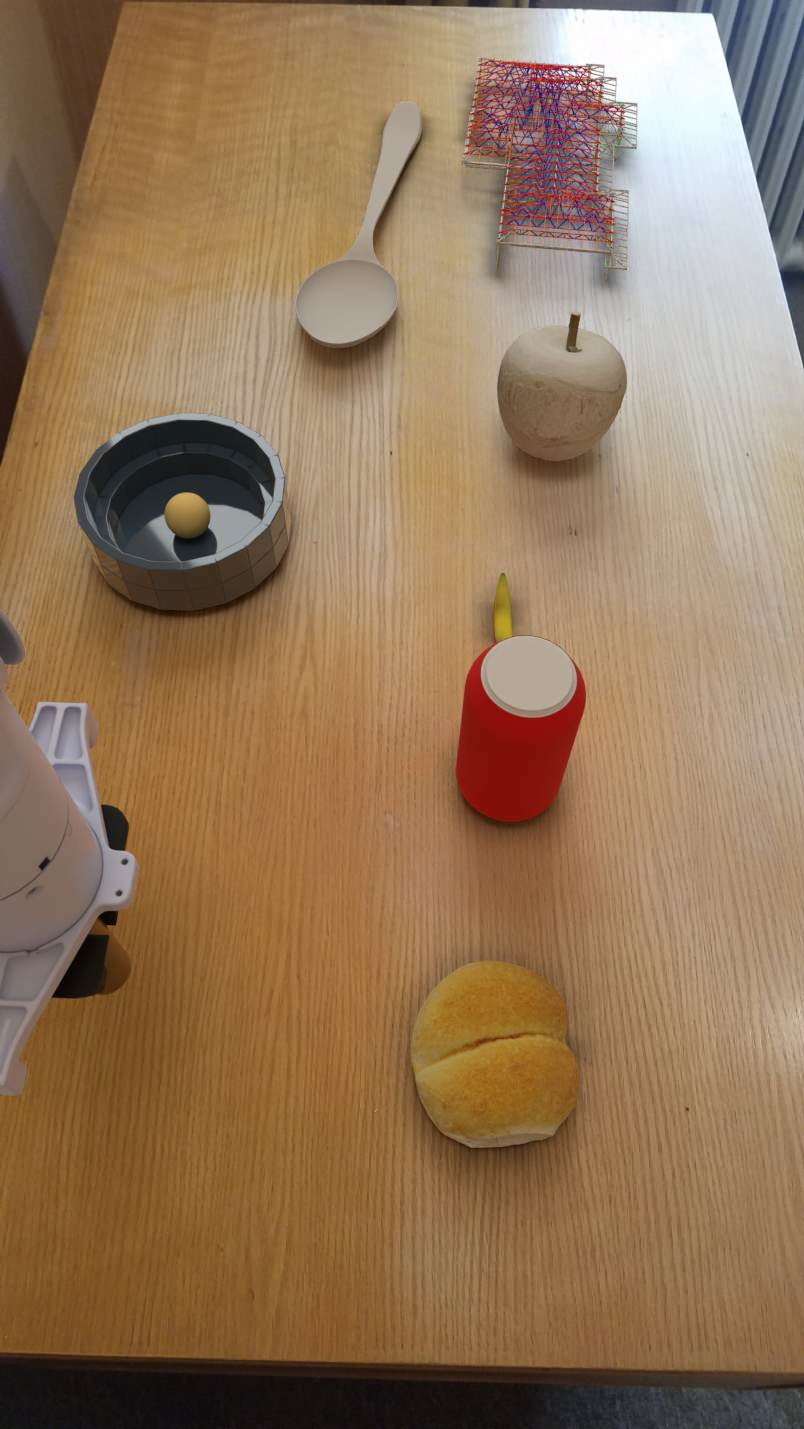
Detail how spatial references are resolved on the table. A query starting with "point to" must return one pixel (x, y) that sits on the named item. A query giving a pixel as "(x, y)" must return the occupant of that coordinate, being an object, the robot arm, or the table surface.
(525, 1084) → the bread roll
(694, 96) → the table surface
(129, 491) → the bowl
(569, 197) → the roof frame
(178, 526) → the ball
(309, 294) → the spoon
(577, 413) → the decorative object
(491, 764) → the beverage can
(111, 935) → the brown wooden dowel
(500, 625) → the fruit
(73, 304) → the table surface
